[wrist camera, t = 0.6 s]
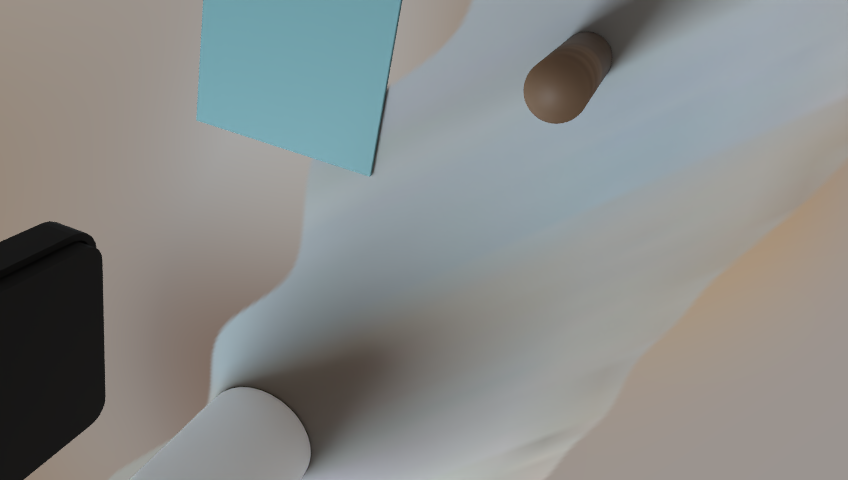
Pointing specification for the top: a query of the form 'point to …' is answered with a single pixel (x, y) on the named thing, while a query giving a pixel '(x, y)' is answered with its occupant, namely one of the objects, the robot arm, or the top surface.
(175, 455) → the bottle
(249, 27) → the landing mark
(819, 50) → the top surface
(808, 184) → the top surface
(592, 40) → the post
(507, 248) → the top surface
